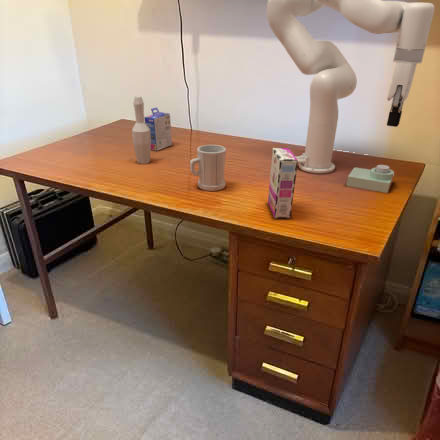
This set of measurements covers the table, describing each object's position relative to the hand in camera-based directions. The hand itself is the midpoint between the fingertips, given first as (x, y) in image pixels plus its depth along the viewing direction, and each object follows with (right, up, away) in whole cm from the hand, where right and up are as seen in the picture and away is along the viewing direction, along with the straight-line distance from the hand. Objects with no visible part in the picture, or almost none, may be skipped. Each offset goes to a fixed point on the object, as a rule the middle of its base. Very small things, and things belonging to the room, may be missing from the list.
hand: (392, 124), depth 131 cm
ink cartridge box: (-76, +8, +43) cm, 88 cm away
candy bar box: (-35, -27, -6) cm, 45 cm away
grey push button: (0, -12, +8) cm, 15 cm away
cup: (-55, -17, +8) cm, 58 cm away
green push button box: (-3, -15, +12) cm, 19 cm away
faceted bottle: (-80, -3, +28) cm, 85 cm away
